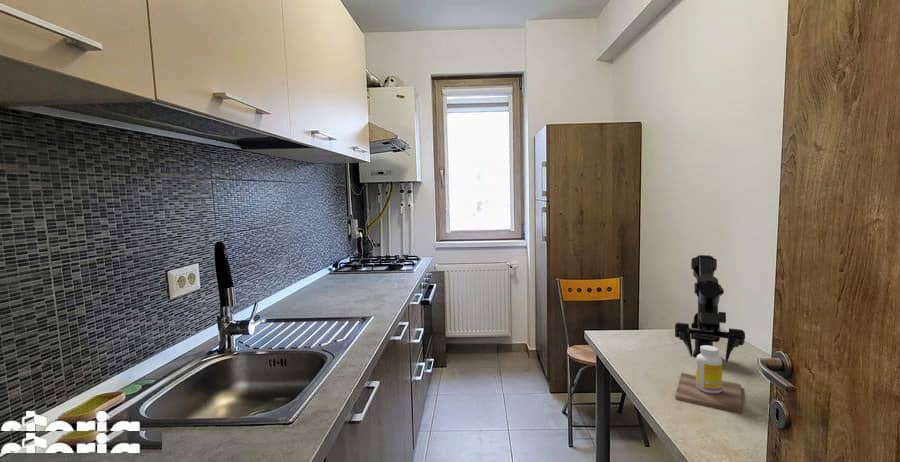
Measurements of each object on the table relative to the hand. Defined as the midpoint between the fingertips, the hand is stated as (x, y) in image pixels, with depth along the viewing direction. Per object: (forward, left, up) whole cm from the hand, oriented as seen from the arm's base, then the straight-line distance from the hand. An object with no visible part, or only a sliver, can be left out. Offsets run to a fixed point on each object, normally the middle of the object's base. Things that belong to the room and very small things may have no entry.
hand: (708, 358), depth 128 cm
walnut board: (+4, 0, -9) cm, 10 cm away
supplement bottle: (+4, 0, -8) cm, 9 cm away
